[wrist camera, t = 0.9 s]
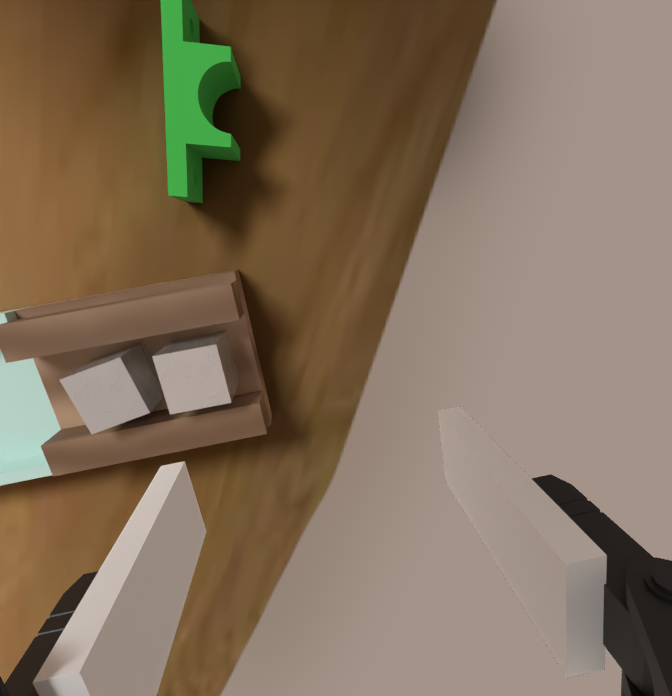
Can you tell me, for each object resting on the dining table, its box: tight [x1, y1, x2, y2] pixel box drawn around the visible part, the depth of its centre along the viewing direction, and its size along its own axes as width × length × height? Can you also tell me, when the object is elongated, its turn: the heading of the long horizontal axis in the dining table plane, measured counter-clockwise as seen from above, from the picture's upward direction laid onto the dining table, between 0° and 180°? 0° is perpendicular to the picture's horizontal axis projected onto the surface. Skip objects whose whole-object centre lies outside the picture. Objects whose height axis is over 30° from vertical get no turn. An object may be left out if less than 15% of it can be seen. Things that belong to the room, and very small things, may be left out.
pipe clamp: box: [161, 0, 241, 203], centre depth 25 cm, size 11×4×5 cm, turn 177°
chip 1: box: [60, 342, 164, 434], centre depth 27 cm, size 4×4×4 cm
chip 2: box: [152, 331, 239, 415], centre depth 28 cm, size 4×4×4 cm
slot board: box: [0, 269, 272, 476], centre depth 29 cm, size 12×15×4 cm
